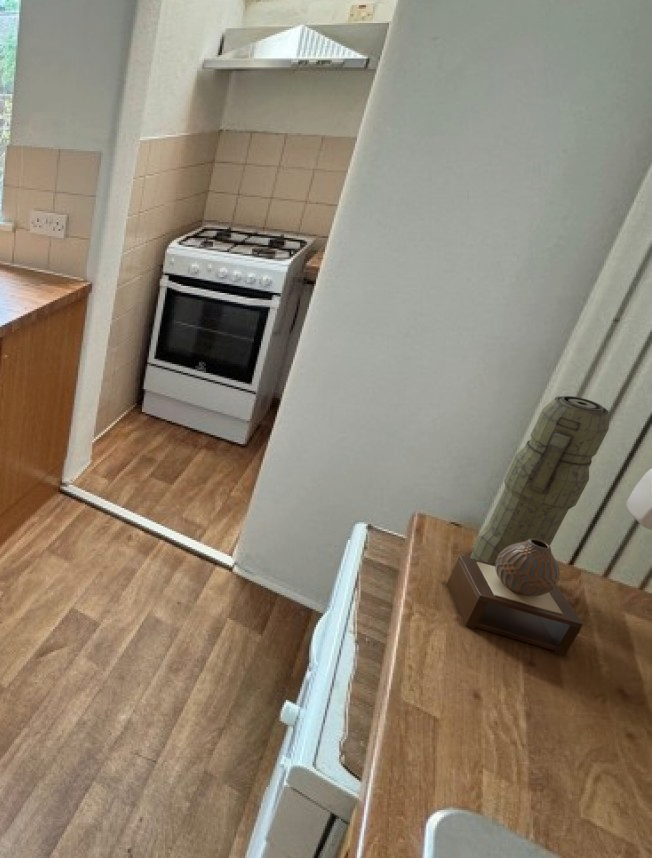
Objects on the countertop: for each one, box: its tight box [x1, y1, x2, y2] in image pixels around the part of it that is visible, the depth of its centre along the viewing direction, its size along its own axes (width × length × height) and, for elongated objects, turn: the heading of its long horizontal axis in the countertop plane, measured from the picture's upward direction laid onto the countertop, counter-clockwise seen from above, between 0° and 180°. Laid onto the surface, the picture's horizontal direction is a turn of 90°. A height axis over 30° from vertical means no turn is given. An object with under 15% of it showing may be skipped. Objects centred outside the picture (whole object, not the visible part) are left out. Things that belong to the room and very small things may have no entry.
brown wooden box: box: [446, 554, 584, 657], centre depth 98 cm, size 12×10×7 cm
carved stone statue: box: [469, 395, 610, 564], centre depth 102 cm, size 9×12×35 cm
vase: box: [495, 538, 561, 596], centre depth 95 cm, size 7×7×9 cm
